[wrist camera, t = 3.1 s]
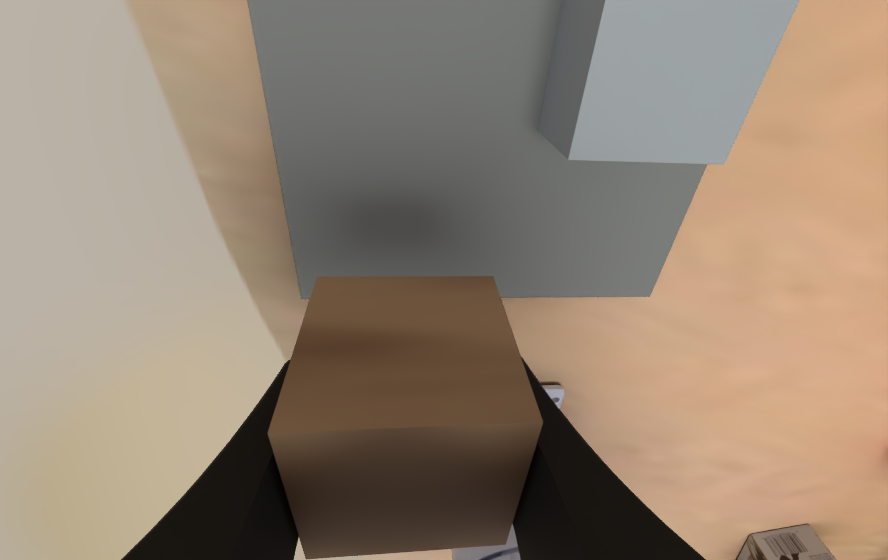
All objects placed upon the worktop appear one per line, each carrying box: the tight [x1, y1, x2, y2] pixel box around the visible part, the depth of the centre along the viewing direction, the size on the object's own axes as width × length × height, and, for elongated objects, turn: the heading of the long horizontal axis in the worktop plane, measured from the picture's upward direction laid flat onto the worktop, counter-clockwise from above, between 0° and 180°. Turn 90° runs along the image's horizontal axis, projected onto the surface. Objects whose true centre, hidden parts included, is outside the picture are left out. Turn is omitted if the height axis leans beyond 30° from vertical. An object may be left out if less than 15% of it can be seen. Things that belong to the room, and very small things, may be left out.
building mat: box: [247, 0, 707, 299], centre depth 16 cm, size 15×18×1 cm
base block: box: [538, 0, 799, 164], centre depth 13 cm, size 6×6×4 cm
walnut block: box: [268, 276, 543, 559], centre depth 10 cm, size 4×4×4 cm
